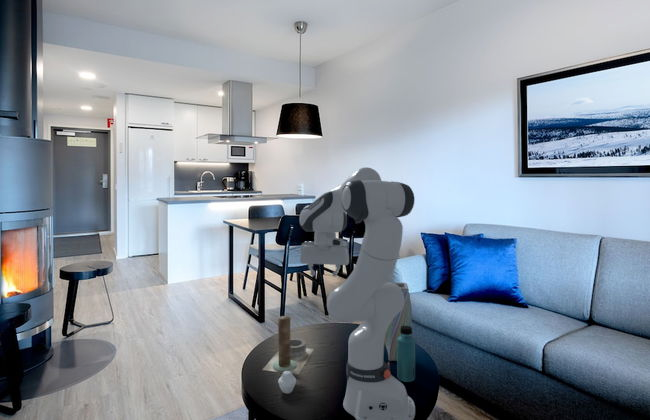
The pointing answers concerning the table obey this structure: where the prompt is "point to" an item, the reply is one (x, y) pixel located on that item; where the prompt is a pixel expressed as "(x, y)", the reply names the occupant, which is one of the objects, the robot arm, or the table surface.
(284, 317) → the walnut peg
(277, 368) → the sage pad
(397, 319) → the vase
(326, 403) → the table surface
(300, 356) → the birch board
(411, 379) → the beverage bottle
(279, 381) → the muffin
